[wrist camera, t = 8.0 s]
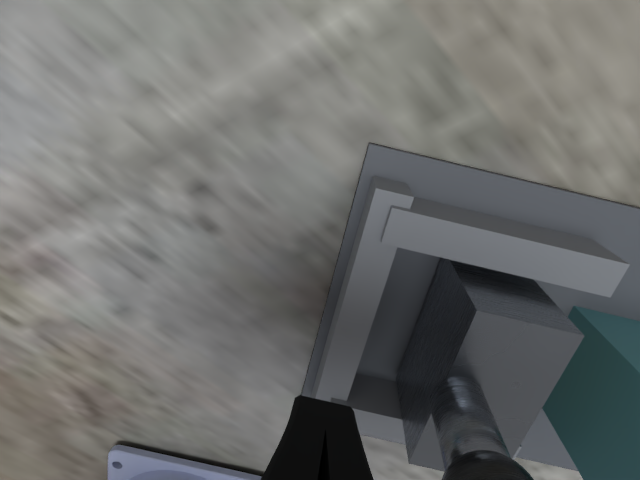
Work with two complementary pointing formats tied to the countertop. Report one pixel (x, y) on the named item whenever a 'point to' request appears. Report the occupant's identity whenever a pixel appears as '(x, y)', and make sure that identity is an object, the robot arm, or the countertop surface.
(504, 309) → the block
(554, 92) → the countertop surface
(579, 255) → the base
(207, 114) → the countertop surface
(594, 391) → the block
